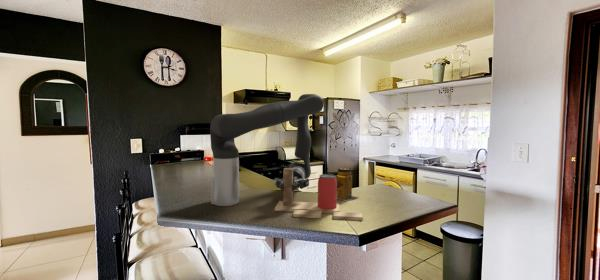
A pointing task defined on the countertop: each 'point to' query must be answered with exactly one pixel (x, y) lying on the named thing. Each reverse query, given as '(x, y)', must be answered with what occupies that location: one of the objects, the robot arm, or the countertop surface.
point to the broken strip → (336, 215)
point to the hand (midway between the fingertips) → (287, 187)
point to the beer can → (327, 191)
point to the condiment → (344, 184)
